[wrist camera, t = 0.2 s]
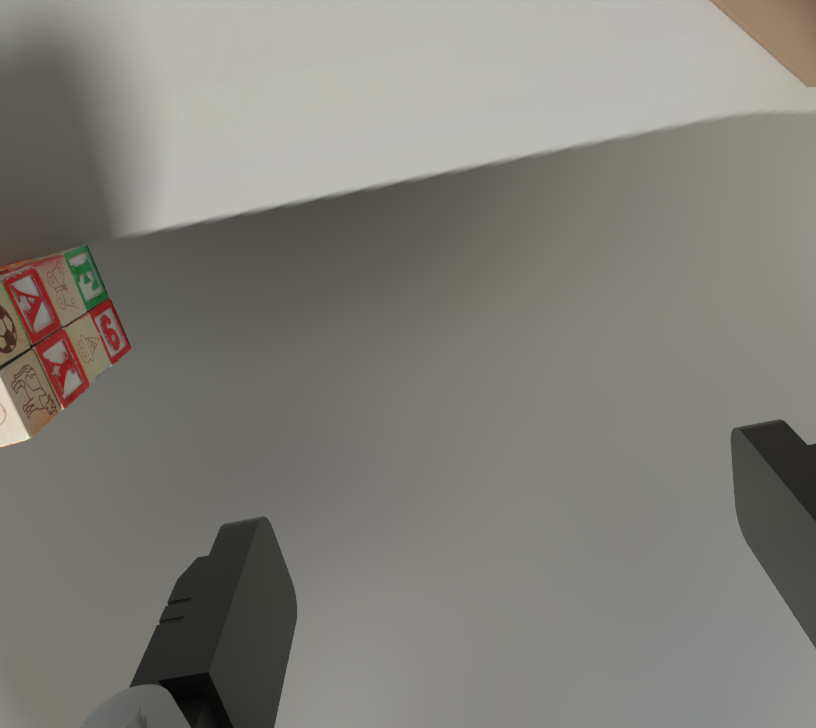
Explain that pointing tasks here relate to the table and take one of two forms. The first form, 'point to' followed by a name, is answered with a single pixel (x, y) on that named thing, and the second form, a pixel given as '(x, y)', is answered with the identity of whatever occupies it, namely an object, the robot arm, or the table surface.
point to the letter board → (780, 31)
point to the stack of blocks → (52, 338)
